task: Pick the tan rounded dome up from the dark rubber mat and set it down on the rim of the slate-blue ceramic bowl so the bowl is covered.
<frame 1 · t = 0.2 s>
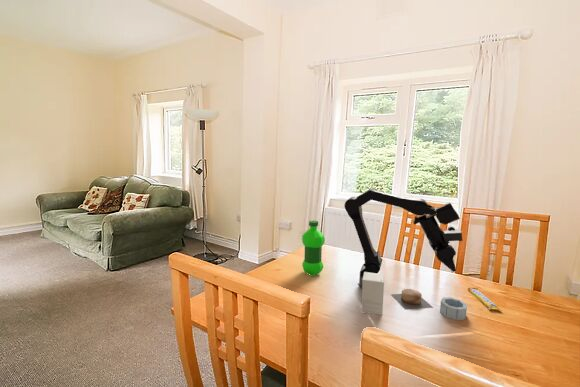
hand: (451, 266, 107), 14 cm above the table, tool tilted 30°, fingers open, 9 cm apart
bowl: (452, 314, 101), on the table
mat: (410, 302, 110), on the table
tan rounded dome: (410, 300, 110), point 1 cm above the table, touching mat
plastic bottle: (312, 273, 135), on the table
supplement box: (371, 309, 105), on the table
candy bar: (482, 301, 112), on the table
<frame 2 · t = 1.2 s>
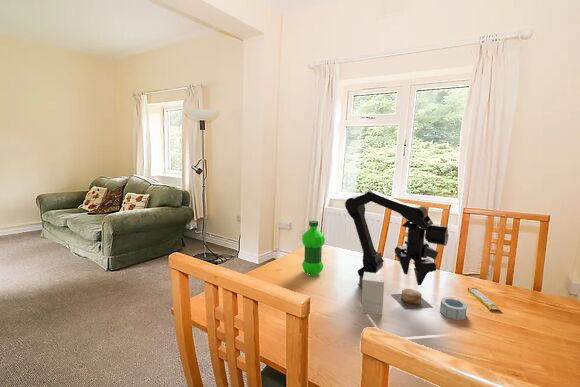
hand: (412, 279, 109), 9 cm above the table, tool pointing down, fingers open, 9 cm apart
nothing on the table moved.
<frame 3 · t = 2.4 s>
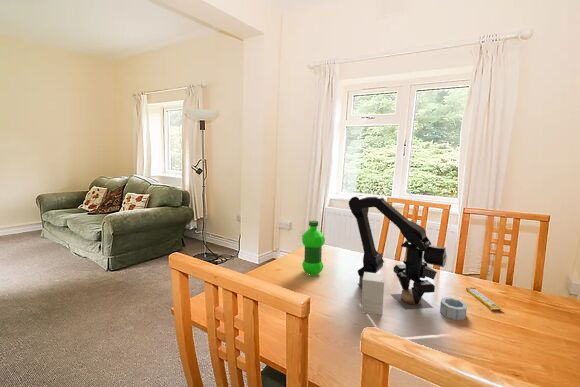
hand: (411, 298, 110), 1 cm above the table, tool pointing down, fingers closed on tan rounded dome, 7 cm apart
tan rounded dome: (410, 300, 110), point 1 cm above the table, touching gripper, mat
everything else where it was.
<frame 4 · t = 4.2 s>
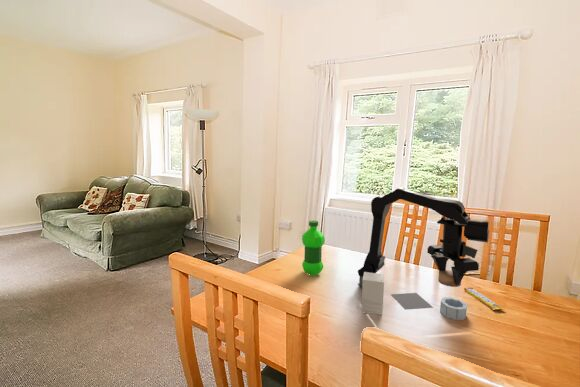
hand: (449, 280, 101), 12 cm above the table, tool pointing down, fingers closed on tan rounded dome, 7 cm apart
tan rounded dome: (449, 282, 101), point 12 cm above the table, touching gripper
everything else where it was.
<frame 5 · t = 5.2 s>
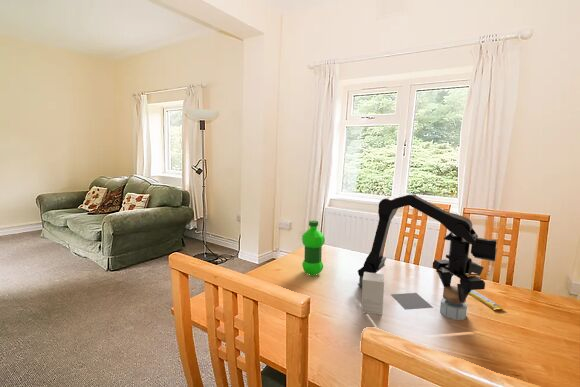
hand: (454, 296, 100), 7 cm above the table, tool pointing down, fingers closed on tan rounded dome, 7 cm apart
tan rounded dome: (454, 298, 100), point 6 cm above the table, touching gripper
when the fingers open (6 cm above the table, at t = 5.9 s): tan rounded dome drops 1 cm, resting on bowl.
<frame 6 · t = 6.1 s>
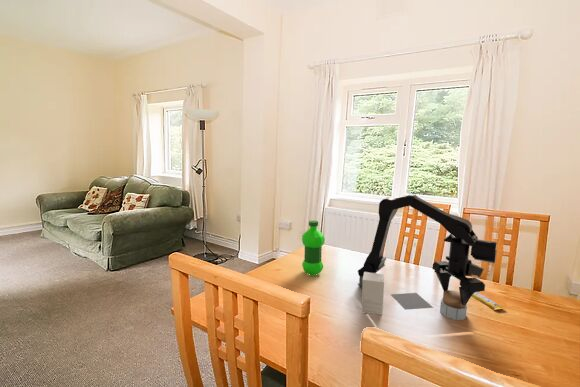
hand: (454, 298, 100), 6 cm above the table, tool pointing down, fingers open, 9 cm apart
tan rounded dome: (453, 303, 101), point 4 cm above the table, touching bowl
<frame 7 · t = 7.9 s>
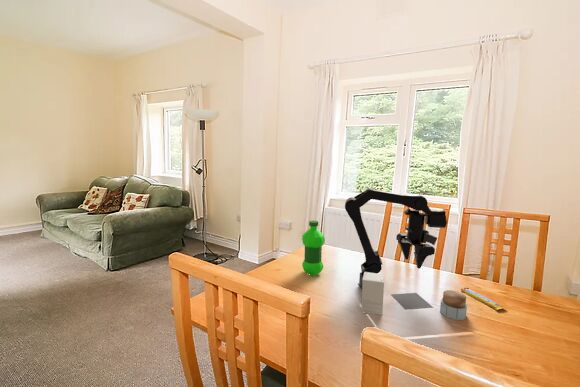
hand: (412, 263, 116), 12 cm above the table, tool pointing down, fingers open, 9 cm apart
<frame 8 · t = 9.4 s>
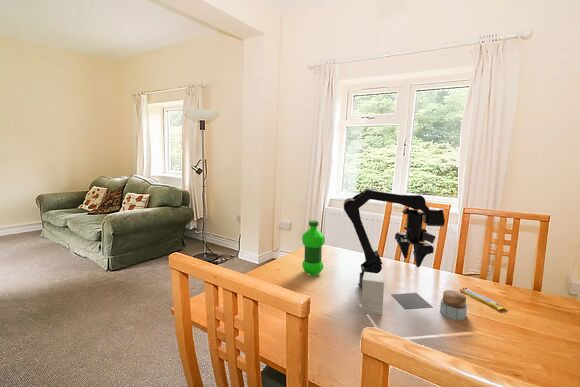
hand: (411, 262, 116), 13 cm above the table, tool pointing down, fingers open, 9 cm apart
at the end: tan rounded dome 0.0 cm off-centre on the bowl, point 4.5 cm above the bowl's base; tan rounded dome tilted 0°; tan rounded dome touching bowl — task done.
